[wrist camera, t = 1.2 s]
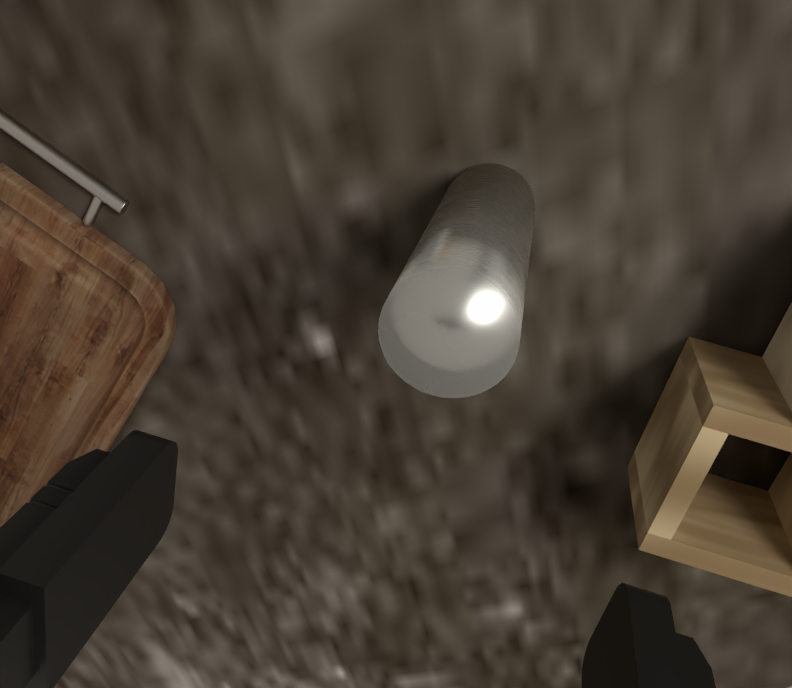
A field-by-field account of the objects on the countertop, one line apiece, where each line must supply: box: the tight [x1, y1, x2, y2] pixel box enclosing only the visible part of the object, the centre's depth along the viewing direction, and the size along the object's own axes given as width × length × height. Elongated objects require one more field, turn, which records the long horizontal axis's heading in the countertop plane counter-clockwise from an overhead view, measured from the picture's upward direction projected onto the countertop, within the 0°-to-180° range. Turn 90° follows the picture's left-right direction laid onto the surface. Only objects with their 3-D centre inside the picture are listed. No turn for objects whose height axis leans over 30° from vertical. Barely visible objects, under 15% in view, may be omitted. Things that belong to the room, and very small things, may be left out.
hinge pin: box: [378, 163, 535, 398], centre depth 26 cm, size 4×4×13 cm
